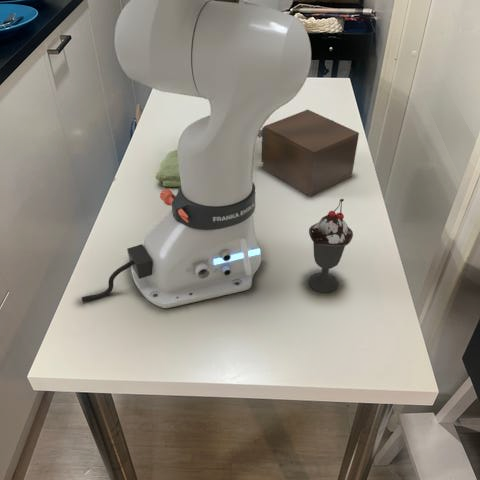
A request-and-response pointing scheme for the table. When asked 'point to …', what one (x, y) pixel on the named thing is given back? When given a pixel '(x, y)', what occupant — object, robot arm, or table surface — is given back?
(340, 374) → the table surface
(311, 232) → the sundae
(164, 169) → the washcloth
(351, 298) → the table surface
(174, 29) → the robot arm
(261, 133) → the drawer
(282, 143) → the cabinet
